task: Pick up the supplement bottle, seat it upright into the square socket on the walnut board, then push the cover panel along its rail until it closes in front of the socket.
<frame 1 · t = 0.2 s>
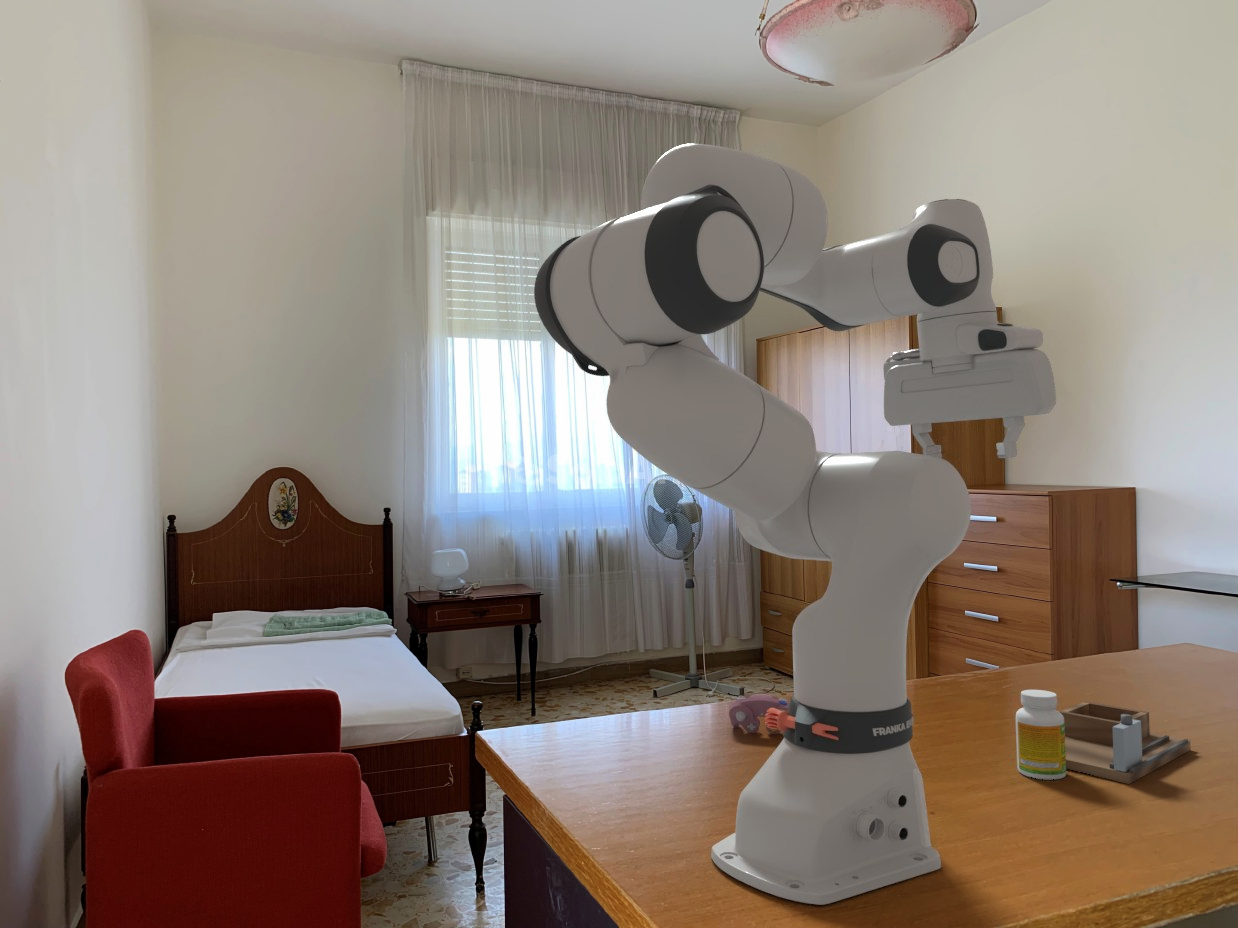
hand: (968, 459, 105), 38 cm above the table, tool pointing down, fingers open, 8 cm apart
board: (1105, 753, 114), on the table
supplement bottle: (1041, 774, 107), on the table
cover panel: (1127, 740, 105), point 4 cm above the table, slide at 0.0 cm
video game controller: (763, 733, 128), on the table
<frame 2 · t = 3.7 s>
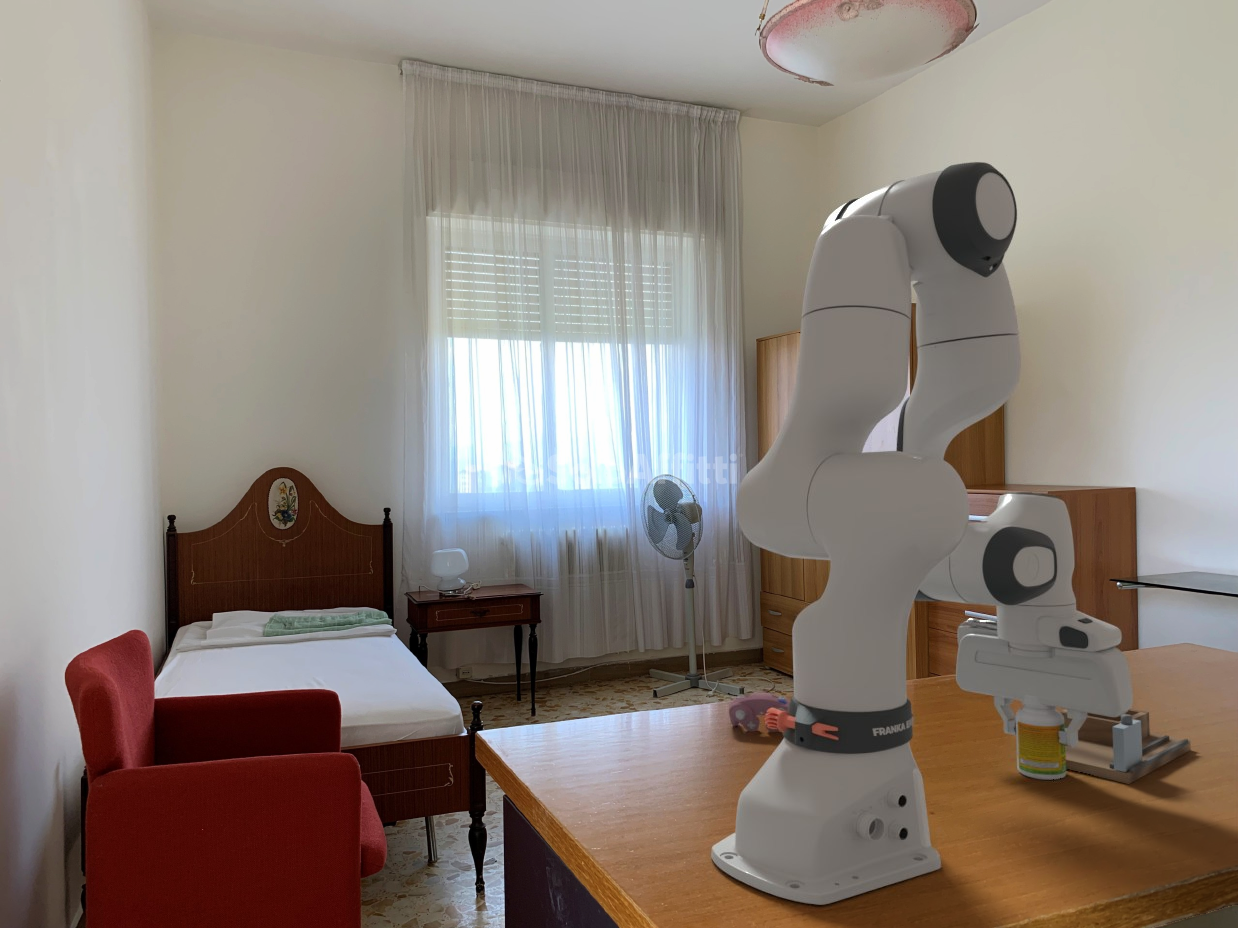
hand: (1040, 739, 107), 4 cm above the table, tool pointing down, fingers closed on supplement bottle, 5 cm apart
supplement bottle: (1041, 774, 107), on the table, touching gripper
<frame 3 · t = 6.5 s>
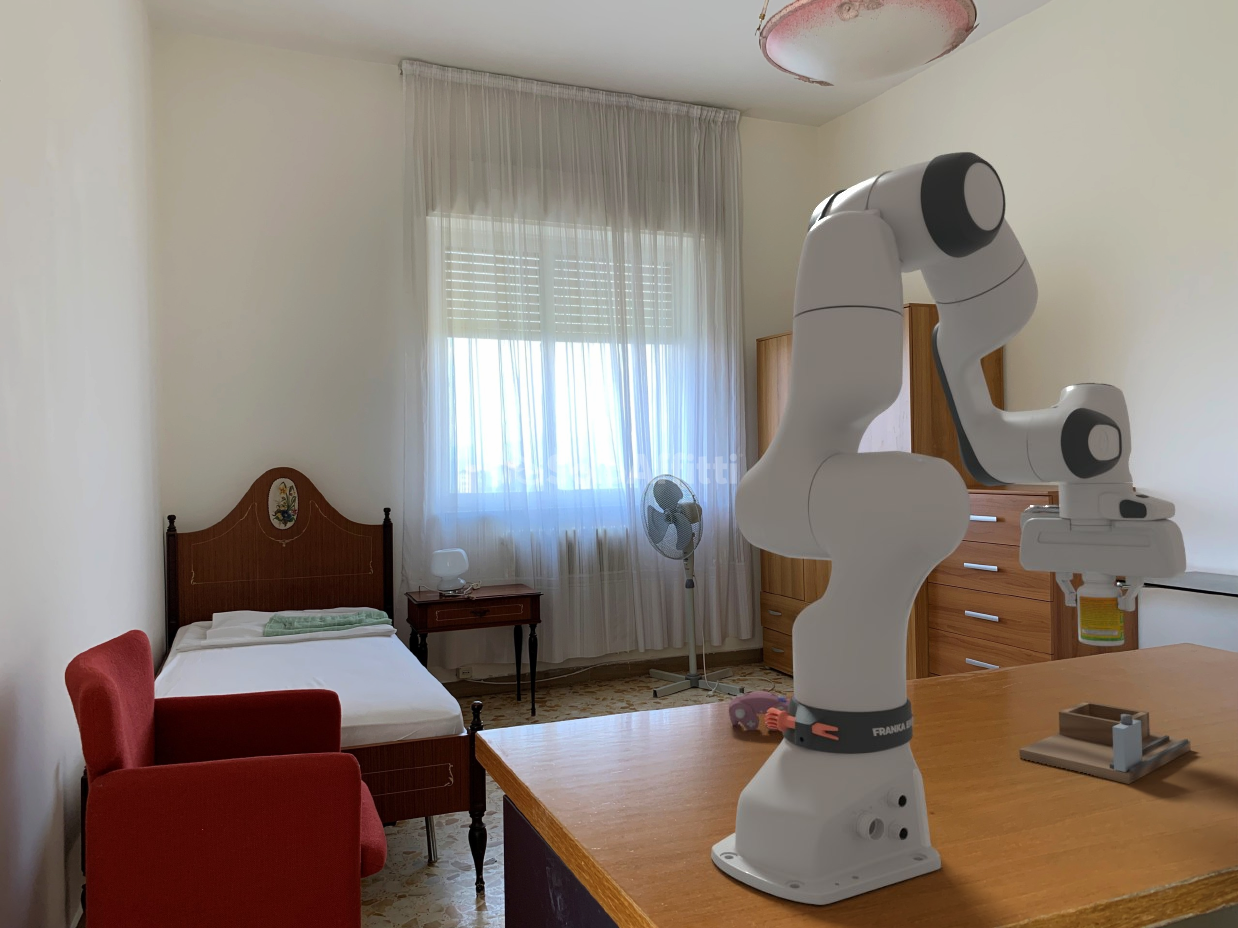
hand: (1099, 608, 118), 18 cm above the table, tool pointing down, fingers closed on supplement bottle, 5 cm apart
supplement bottle: (1101, 644, 118), point 13 cm above the table, touching gripper
when the fingers open (6 cm above the table, at t = 9.3 s): supplement bottle stays where it is, resting on board.
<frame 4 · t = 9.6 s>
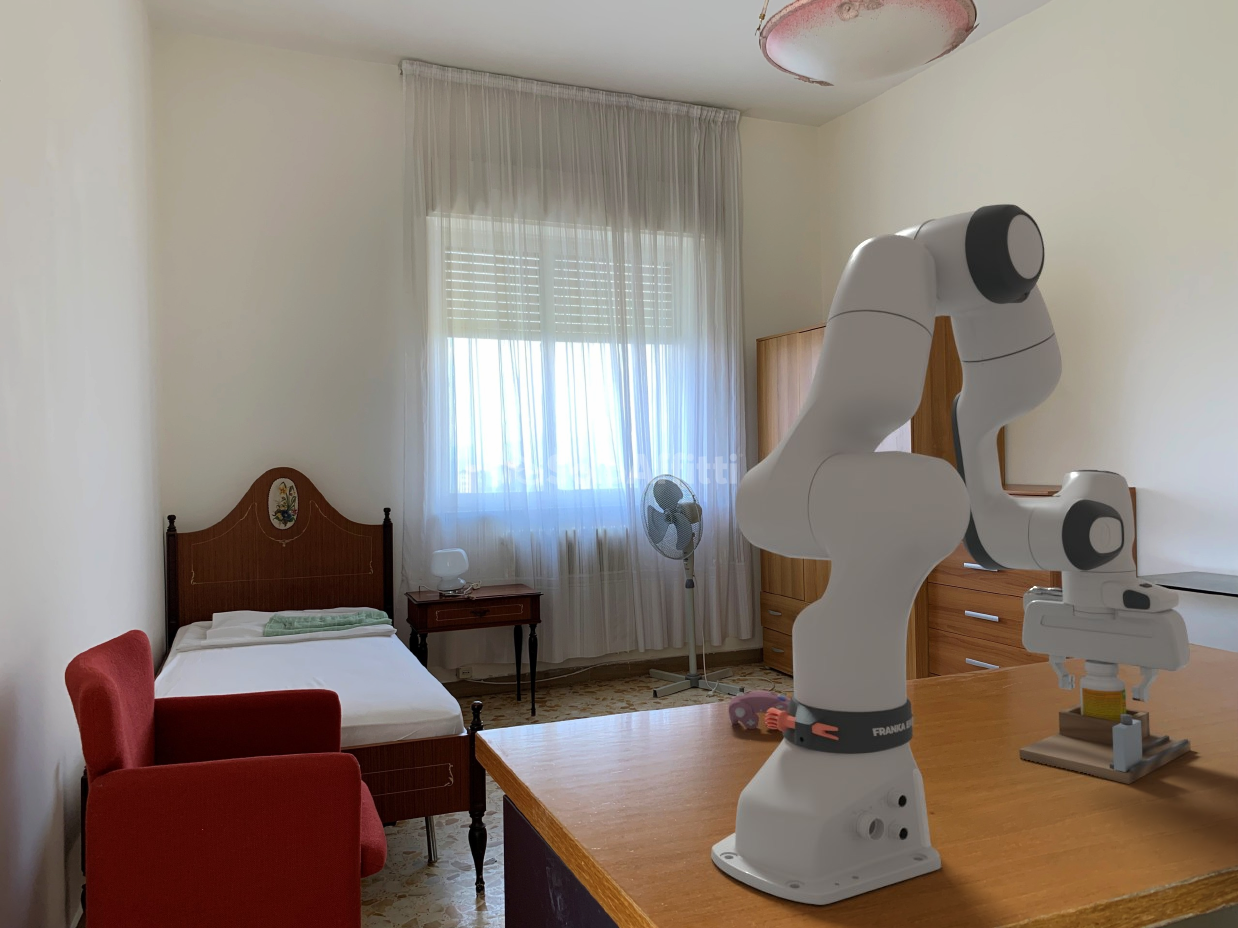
hand: (1102, 694, 118), 7 cm above the table, tool pointing down, fingers open, 8 cm apart
supplement bottle: (1104, 736, 118), point 1 cm above the table, touching board
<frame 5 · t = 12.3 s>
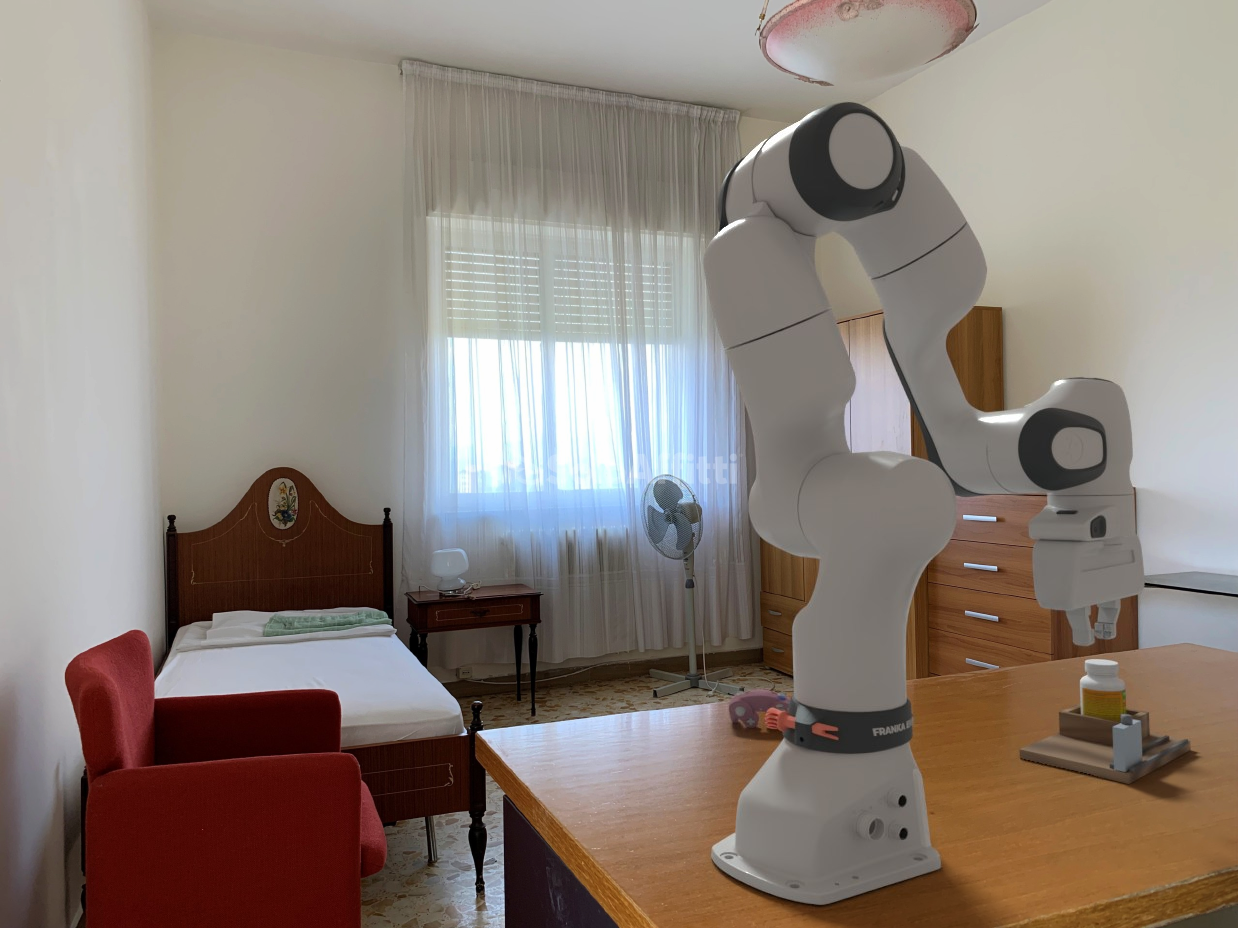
hand: (1095, 641, 101), 17 cm above the table, tool pointing down, fingers open, 4 cm apart
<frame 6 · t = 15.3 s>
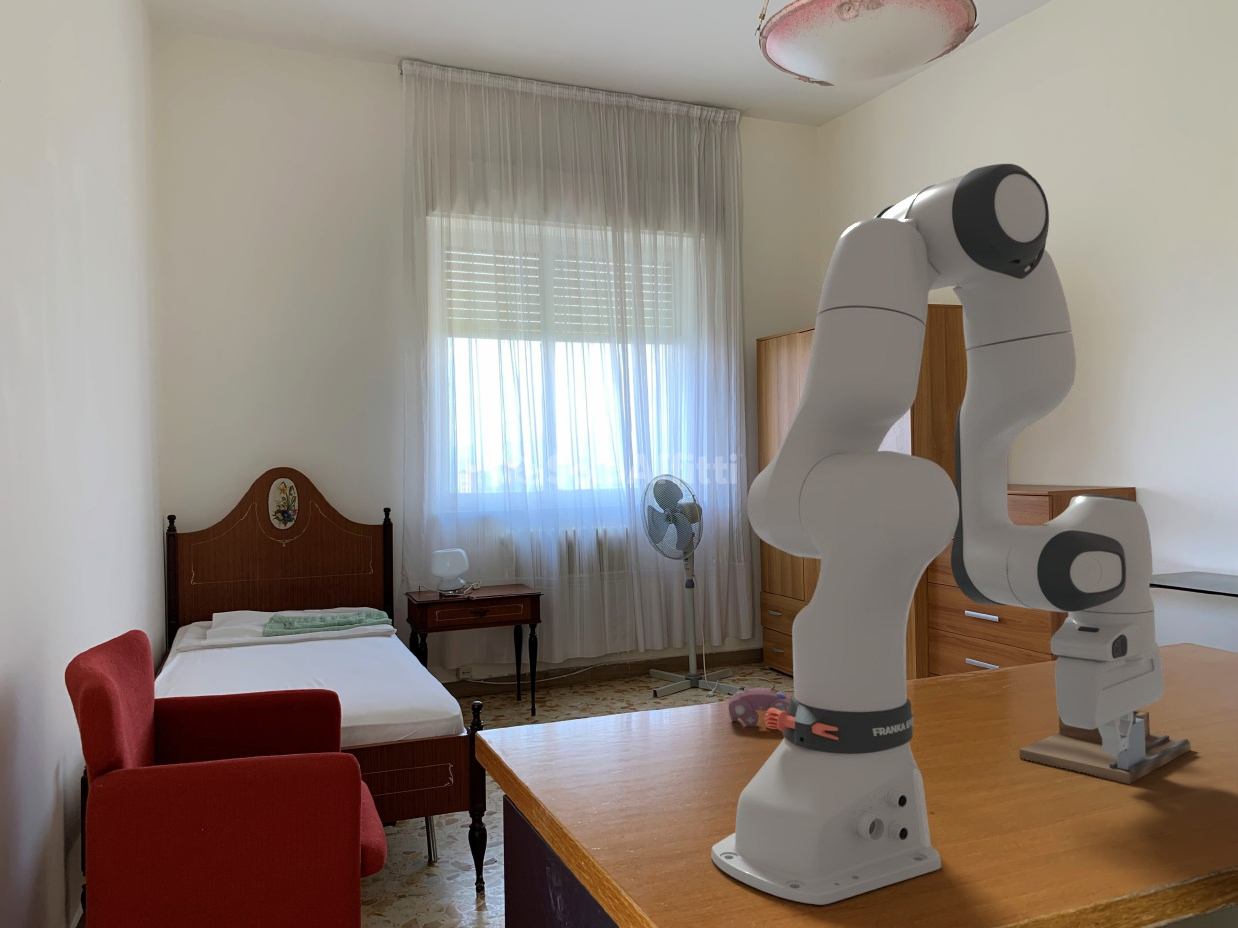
hand: (1116, 751, 103), 4 cm above the table, tool pointing down, fingers closed
cover panel: (1130, 738, 106), point 4 cm above the table, slide at 1.0 cm, touching gripper
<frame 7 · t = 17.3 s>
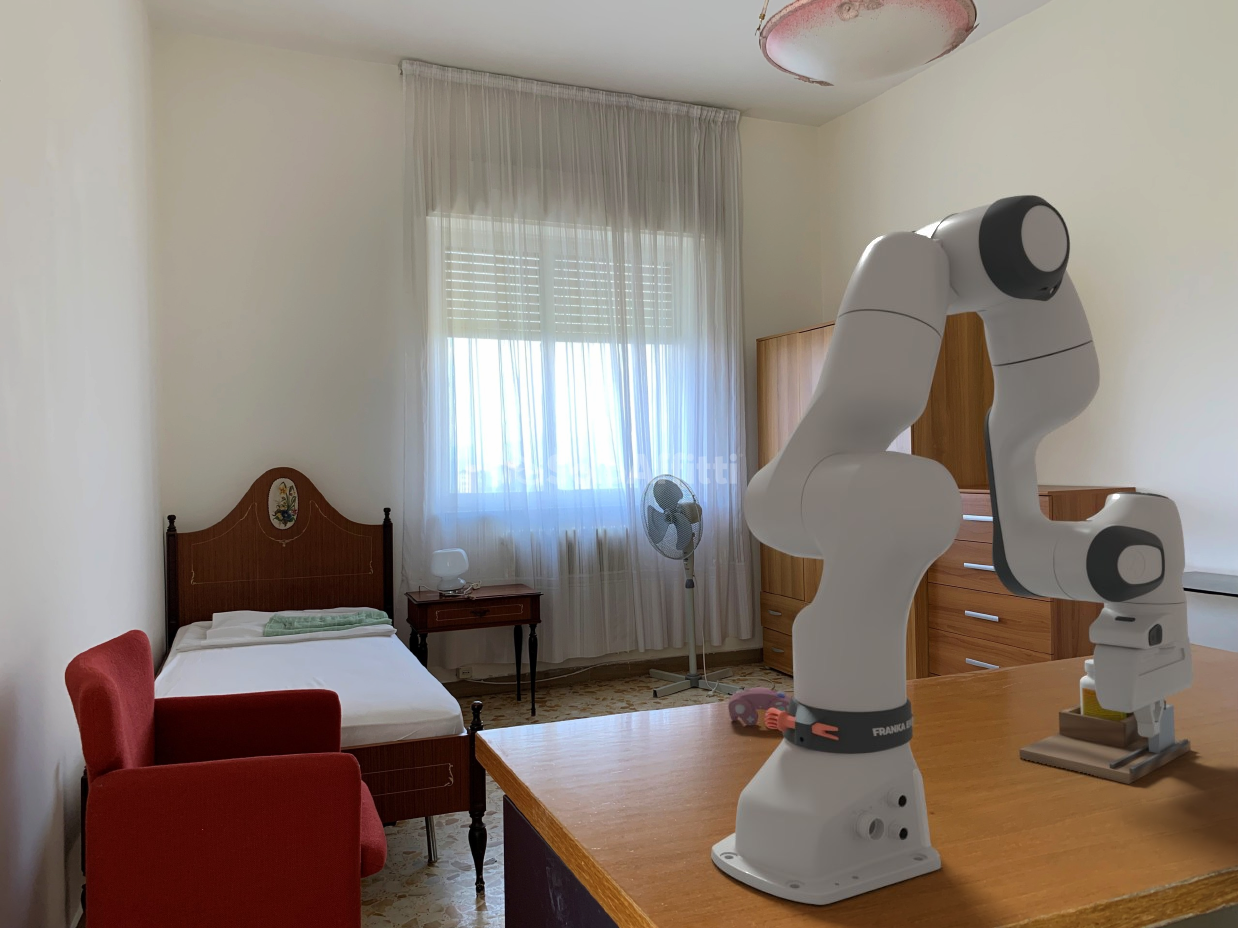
hand: (1149, 735, 109), 4 cm above the table, tool pointing down, fingers closed
cover panel: (1161, 724, 111), point 4 cm above the table, slide at 10.1 cm, touching gripper
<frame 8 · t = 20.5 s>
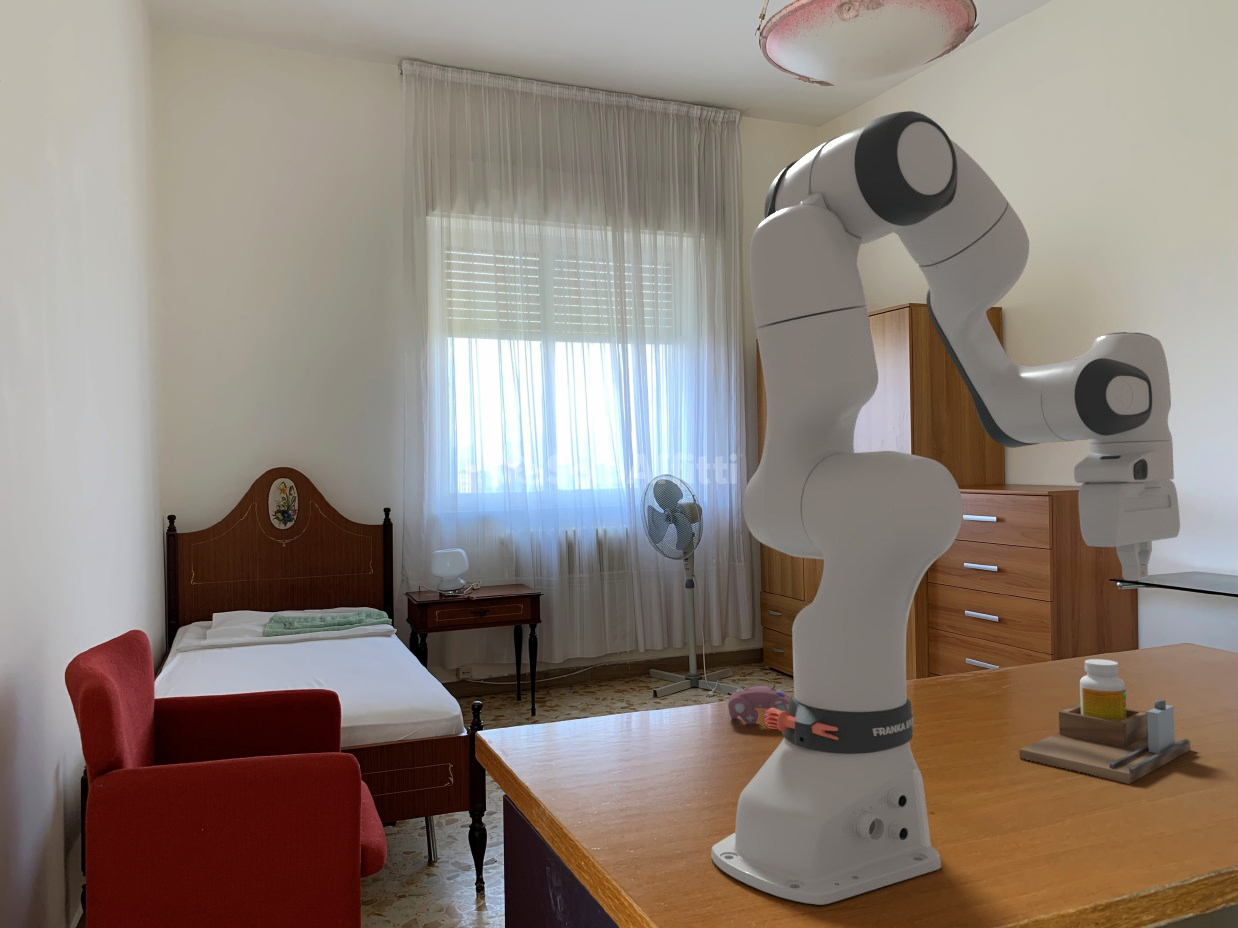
hand: (1135, 579, 108), 23 cm above the table, tool pointing down, fingers closed
cover panel: (1160, 724, 111), point 4 cm above the table, slide at 10.0 cm
at the end: supplement bottle 0.1 cm from the target spot, point 1.0 cm above the table; supplement bottle tilted 0°; cover panel slide at 10.0 cm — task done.
